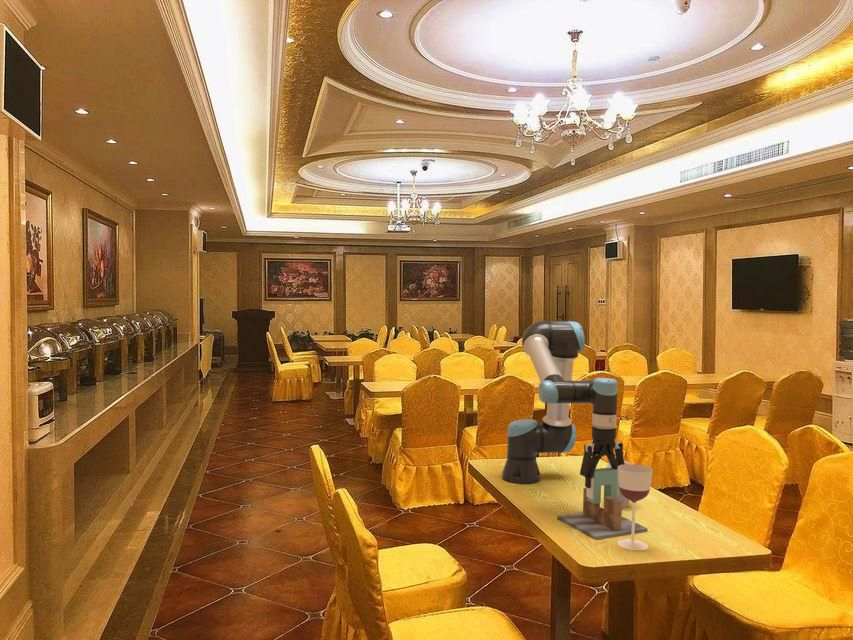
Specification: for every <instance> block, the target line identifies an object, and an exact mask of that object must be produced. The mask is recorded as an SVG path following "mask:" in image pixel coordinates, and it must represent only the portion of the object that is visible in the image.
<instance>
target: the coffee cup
mask: <svg viewBox="0 0 853 640" xmlns="http://www.w3.org/2000/svg"><path fill="white" fill-rule="evenodd" d="M624 464H632V463H631V462H628V461H626V460H624ZM609 467H611V465H610V463H609V462H608V464H607V465H606V467H605V468H609ZM617 499H618V500H620V501H622V509H627V508H629V507H630V500H629V499H627V498H626V497H624V496H623V495H622V494H621V492H620V488H619V485H618V496H617Z"/></svg>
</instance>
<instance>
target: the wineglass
mask: <svg viewBox="0 0 853 640" xmlns="http://www.w3.org/2000/svg"><path fill="white" fill-rule="evenodd" d="M653 471H654V470H653V468H651V467H650V466H647V465H642V464H633V463H631V464H624V465H619V466H618V483H619V488H620V492H621V494H622V495H623V496H624V497H626V498H627V499H629V502H630V501H631V502H632V503H631V505H632V506H631V521H632V532H631V534H630V535H631V536H630V537H631V539H630V538H627V539H620V540H618V541H617V544H618V546H619V547H621V548H623V549H626V550H629V551H630V550H631V551H645V550H647V549H648V548H649V545H648V544H647V543H645V542H644V541H641V540H637V539H635V534H636V533H635V523H636V504H637V502H639V501H641V500H644V499H645V498H646V497H648V495H649V494H650V490H651V485H652V481H653Z"/></svg>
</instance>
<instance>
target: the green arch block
mask: <svg viewBox="0 0 853 640" xmlns="http://www.w3.org/2000/svg"><path fill="white" fill-rule="evenodd" d="M592 478H594V499H591V498H587V501H590V502H592V503H594V504H596V503H600V504H601V503H602V487H603V498H604V497H608V496H611V497H613V498H616V499H617V484H618V470H616V469H614V468H611V467H609V468H606V467H602V468H596V469H595V471H594V474H593V476H592Z"/></svg>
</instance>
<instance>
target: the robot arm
mask: <svg viewBox="0 0 853 640" xmlns="http://www.w3.org/2000/svg"><path fill="white" fill-rule="evenodd" d="M585 341H586V339H585V334H584V330H583V327H582V325H581V323H579V322H577V321H570V320H540V321H535V322H534V323H532V324H531V325H529V326H528V327H526V329H525V331H524V332H523V334H522V337H521V345H522V346H521V347H522V348H523V351H524V352H525V354H526V355H528V356H529V359H530V361H531V363H532V366H533V368H534V369H535V372H536V374H537V377H538V378H539V381H540V382H539V384H538V399H539V400H540V402H541V403H544V404H547V406H546V408H547V409H546V415H545V416H543V417H542V420H541V421H542V422H541V423H538V421H537V420H535V419H526V418H524V419H518V420H514V421H511V422H510V423H509V424H508V425H507V434H506V436H507V440H506V441H507V442H506V443H507V445H506V446H507V447H506V448H507V449H506V450H507V451H506V454H507V455H506V461H505V464H504V467H503V469H502V473H501V474H502V475H501V478H502V479H503V480H504V481H506V482H510V483H514V484H522V485H523V484H526V485H527V484H535V483H538V482H540V481H541V473H540V469H539V466H538V461H537V454H539V453H540V454H541V453H542V454H563V453H570V452H571V451H572V450H573V449H574V446H575V443H576V439H577V434H576V433H577V431H576V426H575V424H573V423H572V419H571V418H570V417H569V416H570V414H569V413H570V404H591V405H592V419H591V420H592V421H591V425H592V428H591V437H592V442H591V444H584V445H583V448H584V449H583V450H584V452H583V456H582V461H581V465H580V466H581V467H580V471H579V474H580V475H579V476H582V477H584V486H585V487H584V488H586V487H587V492H586V497H588V498H591V499H594V478H592V476H593V474H594V471H595V469H597V466H598V464H599V462H600V460H601V459H602V457H605V456H606V458H607V460H608V463H610V465H611V468H614V469H616V470H618V466H619V465H624V461H625V460H624V458H625V457H624V452H623V449H624V447H623V446H624V444H623V443H622V442H619V441H616V439H617V428H616V427H617V418H618V416H617V415H618V413H617V410H618V408H617V407H618V393H619V392H618V391H619V390H618V381H617V380H616V379H614V378H609V377H596V378H594V379H585V380H573V371H574V370H573V369H574V361H575V360H576V359H577V358H578V357H579V352H580V353H581V352H583V350H584V348H585V344H586V342H585ZM618 485H619V483H618V484H617V496H618Z"/></svg>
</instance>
